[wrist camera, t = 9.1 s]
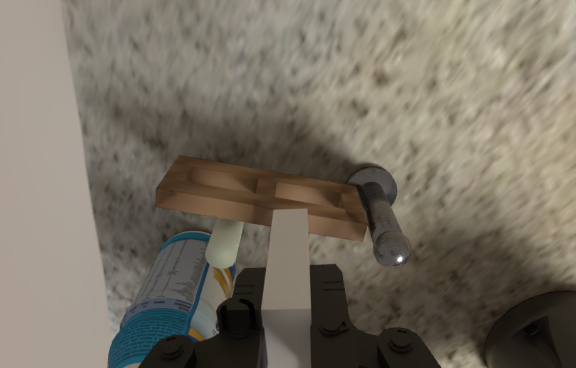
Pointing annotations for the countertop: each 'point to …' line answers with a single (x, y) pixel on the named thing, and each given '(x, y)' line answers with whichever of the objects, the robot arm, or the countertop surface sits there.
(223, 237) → the post
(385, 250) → the hinge post
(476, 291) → the countertop surface
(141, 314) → the beverage bottle
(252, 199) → the gate
